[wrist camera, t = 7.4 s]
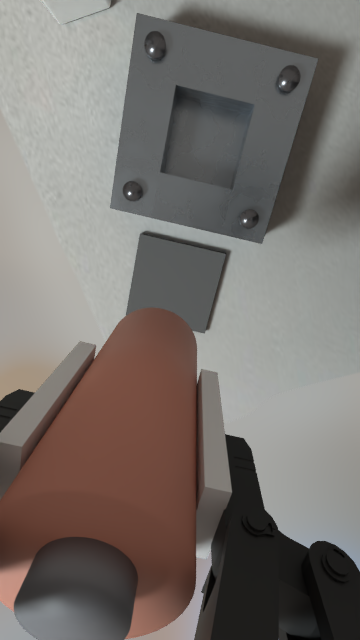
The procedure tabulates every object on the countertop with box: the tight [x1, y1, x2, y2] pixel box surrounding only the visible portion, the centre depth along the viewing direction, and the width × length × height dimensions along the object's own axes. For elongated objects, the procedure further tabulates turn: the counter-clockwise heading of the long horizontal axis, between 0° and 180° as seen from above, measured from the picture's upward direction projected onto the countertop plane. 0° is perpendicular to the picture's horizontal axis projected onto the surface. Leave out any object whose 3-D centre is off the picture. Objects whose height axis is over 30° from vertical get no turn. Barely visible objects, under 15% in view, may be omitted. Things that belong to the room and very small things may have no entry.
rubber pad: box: [126, 234, 226, 333], centre depth 34 cm, size 9×9×1 cm
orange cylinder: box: [0, 308, 197, 640], centre depth 12 cm, size 5×5×13 cm
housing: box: [110, 13, 318, 244], centre depth 28 cm, size 14×14×5 cm
